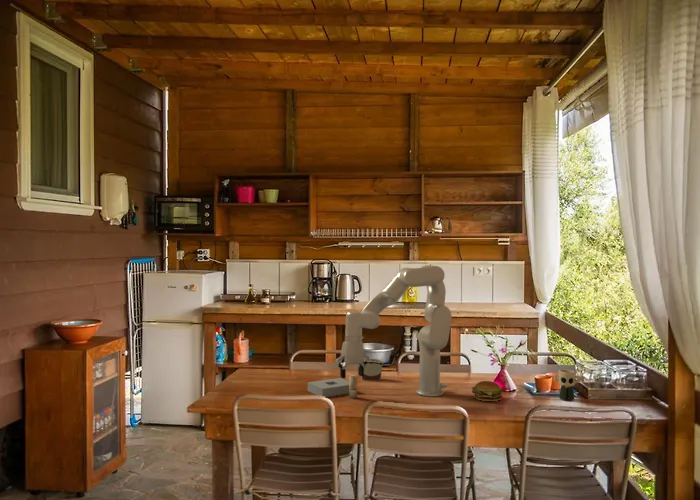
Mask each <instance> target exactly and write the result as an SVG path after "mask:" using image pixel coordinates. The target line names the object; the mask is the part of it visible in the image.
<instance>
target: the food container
mask: <svg viewBox="0 0 700 500" xmlns="http://www.w3.org/2000/svg"><path fill="white" fill-rule="evenodd" d="M383 366H384V361H383V360H381V359H377V358H369V359H368V361H367V364H366V365H365V367H364V374H363V376H361V380H362V381H370V382H371V381H375V382H377V381H378V382H380V381H381V379H382V378H381V377H382V370H383Z"/></svg>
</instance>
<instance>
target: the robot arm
mask: <svg viewBox="0 0 700 500" xmlns="http://www.w3.org/2000/svg"><path fill="white" fill-rule="evenodd" d="M445 275H446V274H445V271H444V270H443V268H442V267H440V266H438V265H431V264H427V265H423V266H422V267H416V268H415V267H414V268H413V267H403V268H401V269H399V271H398V272H397V273H396V274H395V275H394V276H393V278H392V279H391V280H390V281H389V283H387V284H386V286H385V287H384V288H383V289H382V290H381V291H380V292H379V293H378V294H376V295H375V296H374V297H373V298H372V299H371V300H370V301H369V302H368V303H367V304H366V305H365V307H364V308H363V309H362V310H361V311H356V310H352V311H347V312H346V314H345V331H344V332H345V334H344V341H343V342H342V345H341V352H340V356H339V357H337V358H336V359H335V362H336V365H337V367H338V368H339V369H340V370H339V375H340V377H339V378H341V379H346V377H347V376H346V371H347V370H346V368H347V366H352V365H358V369H357V371H358V373H357V374H358V375H357V376H360V377H362V376H363V374H364V367H365V365H366V364H367V361H368V359H370V357H369V356H367V355H366V354H364V353H365V351H364V350H365V349H364V343H363V340H364V339H365V337H364V335H363V328H364V329H368V330H369V329H371V330H373V329H377V328H378V327H379V326H380V324H381V322H382V321H381V317H380V316H379V315H380V314H381V313H382V312H383V310H385V309H386V308H388V307H390V306H393V305H395V304H396V303H398V302H399V300H400V299H401V298H402V297H403V296H404V295H405V294H406V292H407V291H408V290H409V288H418V287H421V288H422V287H426V290H427V295H426V302H425V306H424V314H423V315H424V320H426V321H427V322H429V323H430V325H425V326H423V327H422V328H420V330H419V332H418V347H419V378H418V379H419V380H418V381H419V383H418V384H419V387H418V388H417V389H416V390H415V393H416V394H417V395H419V396H423V397H430V398H431V397H433V398H434V397H441V396H442V395H444V391H443V389H446V388H447V387H448V383H446V382H445V383H441V350H442V349H444V348H445V347H446V346H447V345H448V342H449V338H450V337H449V336H450V332H451V326H452V320H453V319H452V317H453V316H452V312H451V310H450V308H449V307H448V306H447V305H446V304H445V303H446V302H445V301H446V285H445V282H444V279H445Z"/></svg>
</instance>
